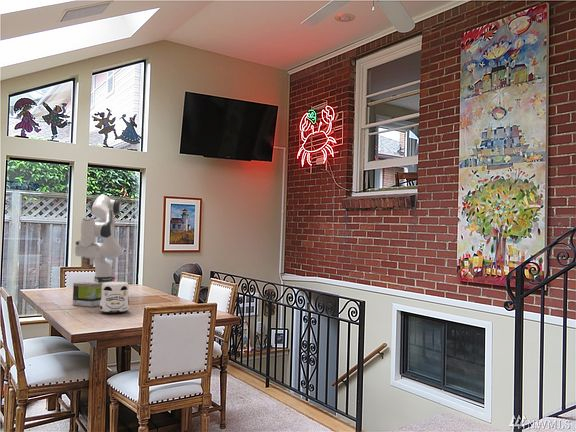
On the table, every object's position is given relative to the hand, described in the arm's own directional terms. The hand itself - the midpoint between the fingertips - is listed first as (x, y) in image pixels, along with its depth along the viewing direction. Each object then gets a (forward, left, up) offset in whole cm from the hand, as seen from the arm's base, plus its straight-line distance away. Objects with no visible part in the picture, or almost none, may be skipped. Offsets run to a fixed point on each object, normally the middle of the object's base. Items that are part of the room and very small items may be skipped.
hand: (87, 264), depth 316 cm
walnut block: (0, 0, -2) cm, 2 cm away
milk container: (0, +27, -28) cm, 39 cm away
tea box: (-5, -6, -28) cm, 29 cm away
